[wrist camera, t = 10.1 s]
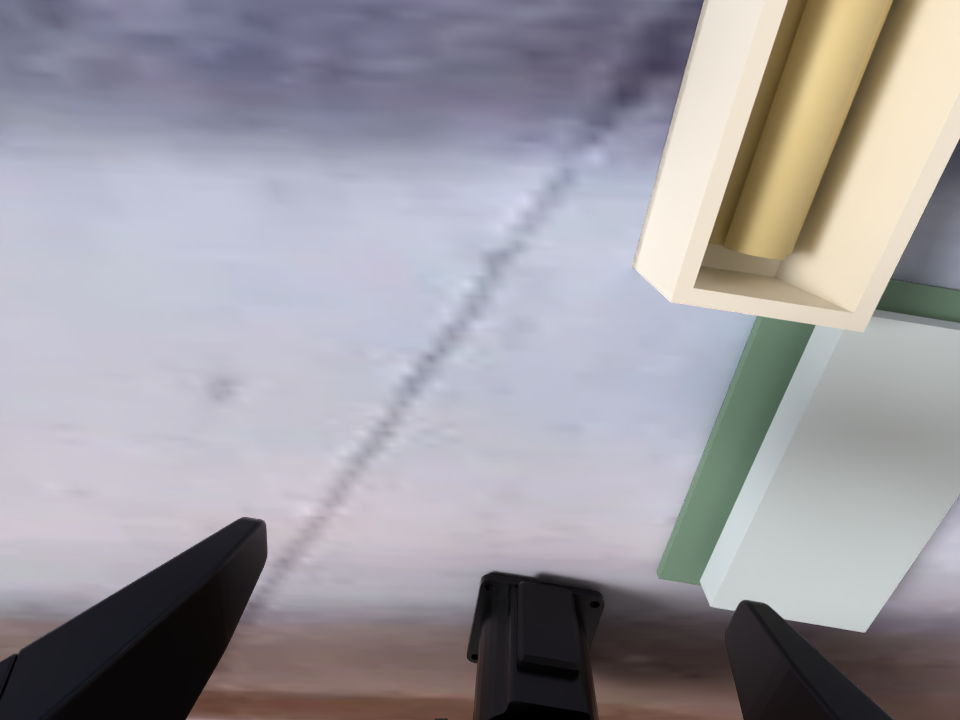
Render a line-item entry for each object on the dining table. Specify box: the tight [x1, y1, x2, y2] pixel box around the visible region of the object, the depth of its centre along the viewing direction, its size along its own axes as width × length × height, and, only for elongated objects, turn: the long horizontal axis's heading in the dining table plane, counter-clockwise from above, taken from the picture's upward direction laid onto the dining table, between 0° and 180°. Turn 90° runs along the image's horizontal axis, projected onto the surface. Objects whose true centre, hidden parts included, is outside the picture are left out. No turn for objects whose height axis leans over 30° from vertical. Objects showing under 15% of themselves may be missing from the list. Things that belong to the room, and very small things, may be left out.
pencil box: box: [632, 0, 960, 332], centre depth 13 cm, size 14×6×5 cm, turn 172°
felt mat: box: [657, 279, 960, 585], centre depth 21 cm, size 16×10×1 cm, turn 172°
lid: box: [700, 309, 960, 633], centre depth 20 cm, size 14×7×2 cm, turn 172°
